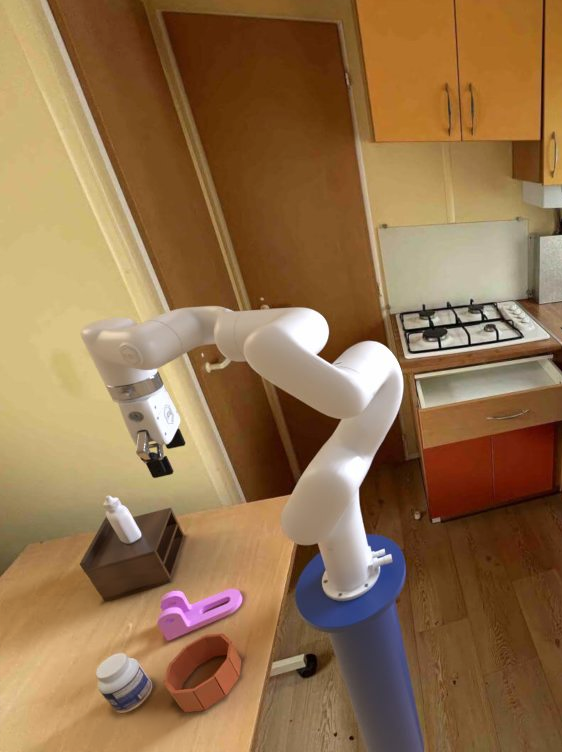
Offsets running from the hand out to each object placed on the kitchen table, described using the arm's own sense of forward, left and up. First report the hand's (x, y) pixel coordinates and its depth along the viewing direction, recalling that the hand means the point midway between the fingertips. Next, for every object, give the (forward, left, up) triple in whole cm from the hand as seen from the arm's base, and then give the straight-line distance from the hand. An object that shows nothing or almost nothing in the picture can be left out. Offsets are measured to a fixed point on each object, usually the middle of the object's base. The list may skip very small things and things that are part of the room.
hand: (170, 460), depth 84 cm
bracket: (+1, +11, -32) cm, 34 cm away
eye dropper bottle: (+16, -8, -22) cm, 29 cm away
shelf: (+16, -8, -32) cm, 37 cm away
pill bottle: (+10, +24, -32) cm, 42 cm away
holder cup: (-2, +27, -32) cm, 42 cm away
